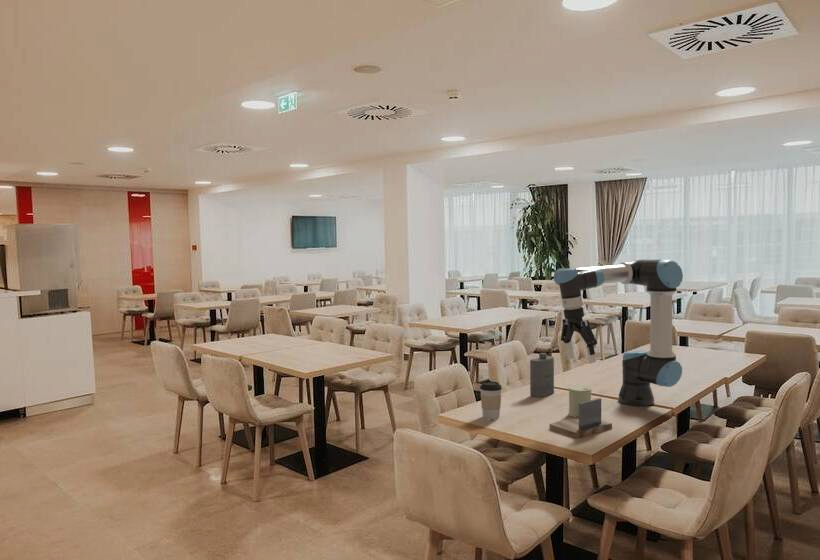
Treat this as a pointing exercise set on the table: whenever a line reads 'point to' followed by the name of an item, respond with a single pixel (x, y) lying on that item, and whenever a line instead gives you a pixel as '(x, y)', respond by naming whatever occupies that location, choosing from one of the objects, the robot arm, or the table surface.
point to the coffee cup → (490, 399)
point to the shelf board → (576, 427)
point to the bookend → (590, 415)
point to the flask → (542, 376)
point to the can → (578, 398)
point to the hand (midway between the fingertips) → (581, 360)
